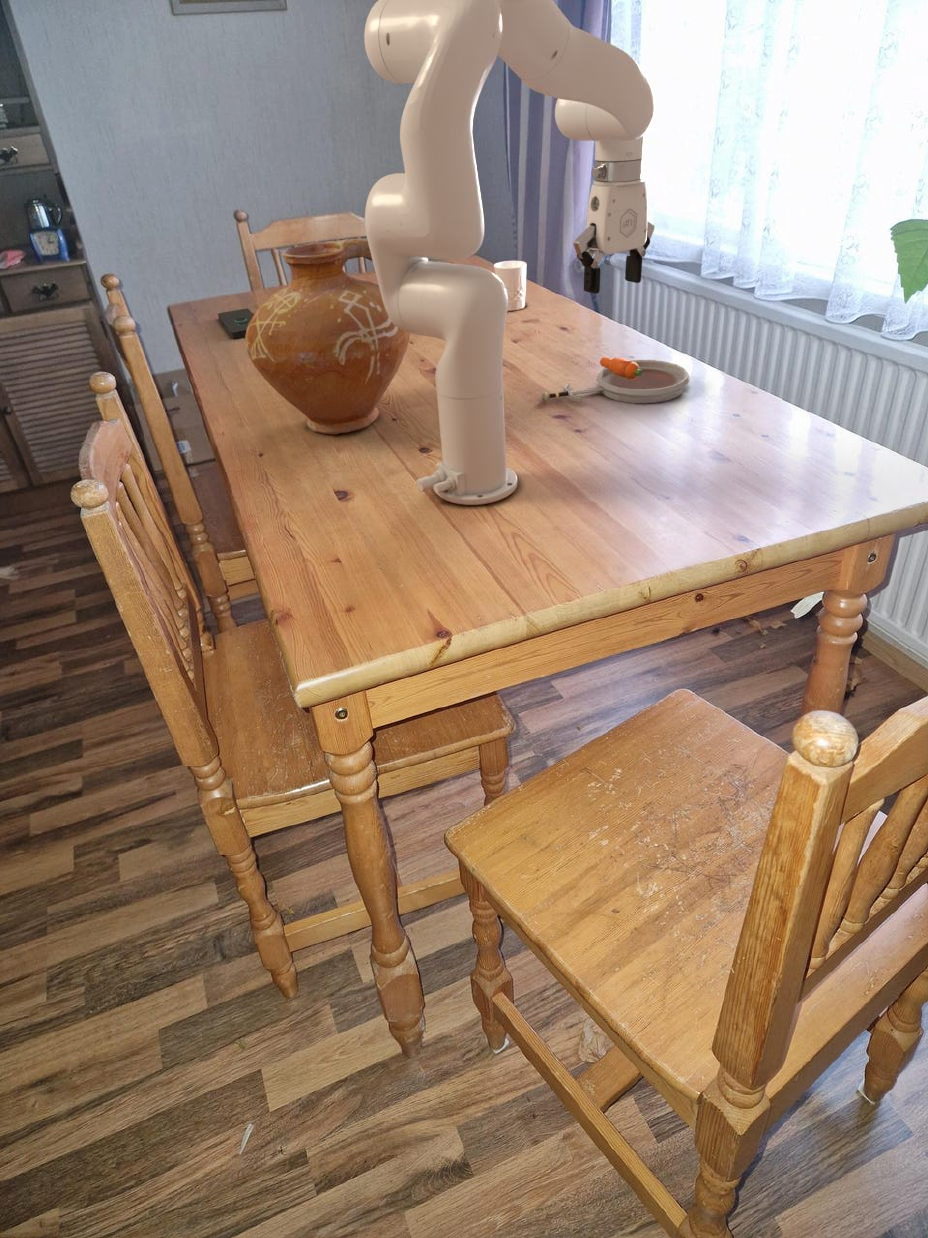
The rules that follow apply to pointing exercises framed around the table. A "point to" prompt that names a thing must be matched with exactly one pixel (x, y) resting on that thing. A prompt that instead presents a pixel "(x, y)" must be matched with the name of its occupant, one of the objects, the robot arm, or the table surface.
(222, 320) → the smart home device
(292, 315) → the jug
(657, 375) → the frying pan
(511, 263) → the white cup
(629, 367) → the carrot
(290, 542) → the table surface
